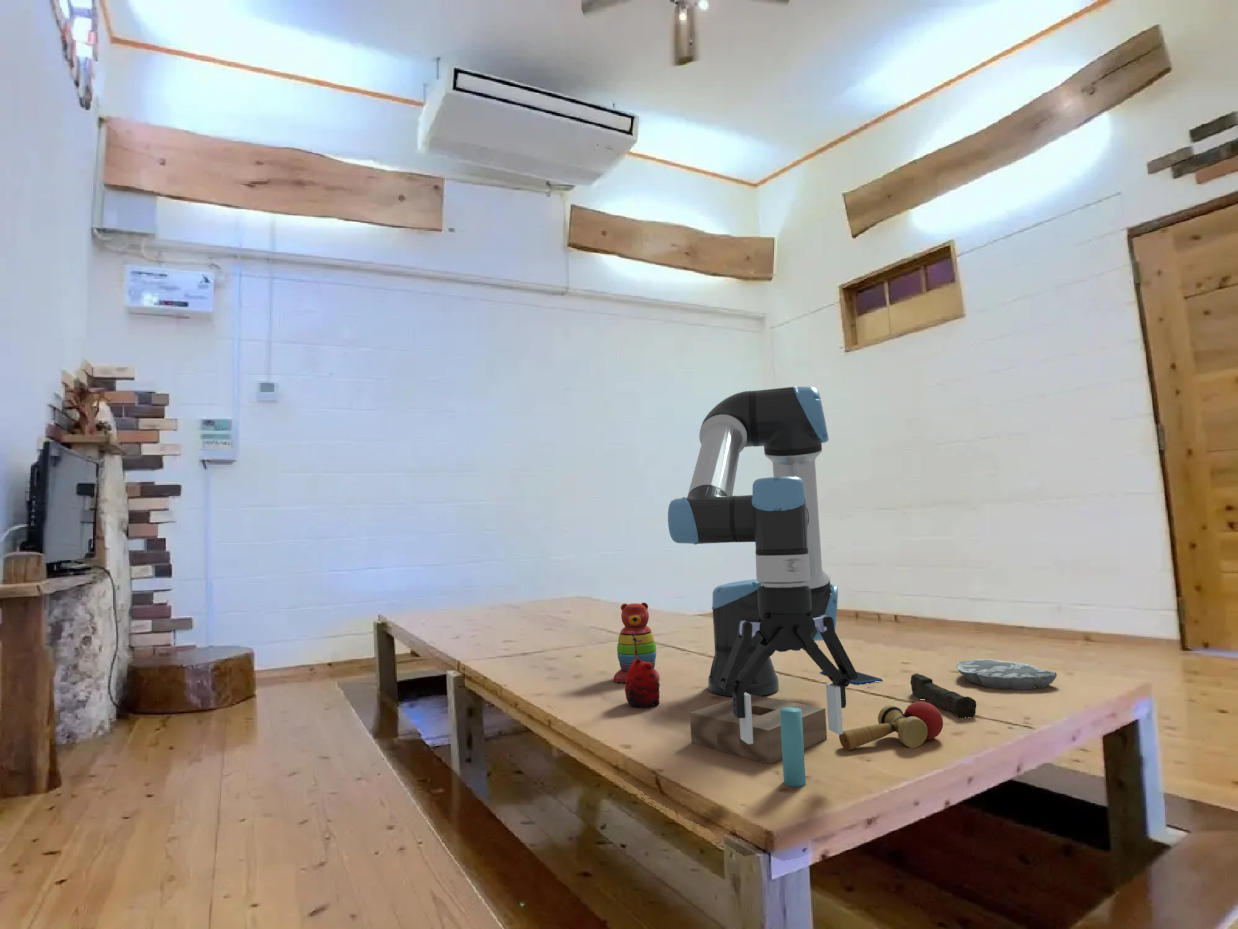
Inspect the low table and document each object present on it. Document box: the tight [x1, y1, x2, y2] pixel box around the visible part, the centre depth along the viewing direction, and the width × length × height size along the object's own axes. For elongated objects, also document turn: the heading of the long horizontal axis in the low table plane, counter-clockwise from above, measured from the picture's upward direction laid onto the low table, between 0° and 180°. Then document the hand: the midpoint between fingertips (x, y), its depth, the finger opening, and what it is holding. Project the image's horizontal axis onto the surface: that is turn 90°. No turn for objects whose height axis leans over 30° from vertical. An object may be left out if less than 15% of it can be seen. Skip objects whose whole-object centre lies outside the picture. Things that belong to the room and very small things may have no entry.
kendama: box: [838, 700, 944, 752], centre depth 116 cm, size 8×6×18 cm
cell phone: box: [819, 668, 883, 686], centre depth 163 cm, size 7×14×1 cm, turn 19°
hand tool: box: [909, 672, 977, 719], centre depth 137 cm, size 19×4×5 cm, turn 4°
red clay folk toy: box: [624, 633, 661, 708], centre depth 146 cm, size 8×7×15 cm
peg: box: [780, 707, 807, 788], centre depth 101 cm, size 3×3×10 cm
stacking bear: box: [612, 602, 661, 683], centre depth 170 cm, size 11×10×18 cm
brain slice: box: [955, 658, 1058, 690], centre depth 153 cm, size 20×17×3 cm
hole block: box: [689, 694, 828, 765], centre depth 119 cm, size 16×16×5 cm
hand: (791, 736), depth 100 cm, fingers open, 13 cm apart
